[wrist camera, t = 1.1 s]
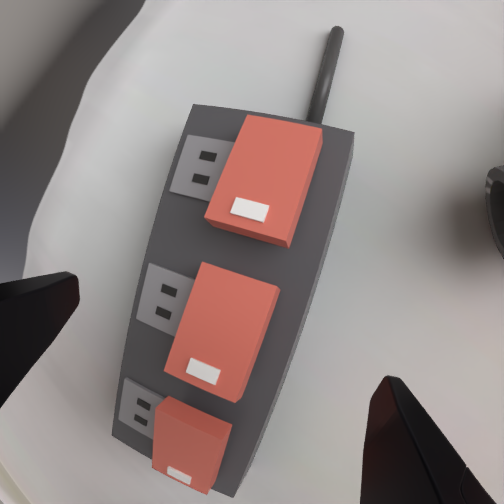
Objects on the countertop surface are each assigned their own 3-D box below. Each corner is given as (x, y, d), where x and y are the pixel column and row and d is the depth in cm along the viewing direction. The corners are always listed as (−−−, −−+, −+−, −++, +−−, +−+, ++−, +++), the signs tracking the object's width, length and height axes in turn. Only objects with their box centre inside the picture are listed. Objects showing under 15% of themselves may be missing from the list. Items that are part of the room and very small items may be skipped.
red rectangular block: (215, 481, 17) (205, 496, 16) (162, 455, 18) (150, 468, 17) (232, 424, 16) (221, 441, 14) (168, 395, 17) (154, 409, 15)
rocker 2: (241, 397, 16) (234, 403, 14) (174, 368, 17) (162, 371, 15) (280, 289, 17) (276, 285, 15) (210, 266, 18) (201, 260, 16)
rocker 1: (288, 248, 15) (285, 239, 14) (213, 226, 16) (202, 216, 15) (322, 143, 16) (322, 127, 15) (252, 129, 17) (246, 112, 16)
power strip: (249, 468, 21) (230, 502, 17) (139, 416, 24) (107, 438, 19) (376, 38, 20) (378, 0, 15) (255, 22, 22) (239, -13, 18)
